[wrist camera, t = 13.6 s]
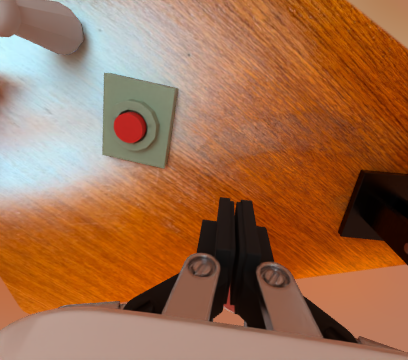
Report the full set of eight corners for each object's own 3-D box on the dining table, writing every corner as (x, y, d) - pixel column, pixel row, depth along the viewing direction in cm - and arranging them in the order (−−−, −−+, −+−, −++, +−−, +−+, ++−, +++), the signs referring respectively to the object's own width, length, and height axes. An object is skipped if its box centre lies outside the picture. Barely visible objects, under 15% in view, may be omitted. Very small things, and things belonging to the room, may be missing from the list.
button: (119, 108, 32) (114, 110, 30) (147, 115, 32) (143, 117, 30) (118, 136, 34) (112, 139, 32) (145, 142, 34) (141, 145, 32)
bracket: (360, 169, 36) (425, 213, 25) (427, 175, 36) (525, 223, 24) (337, 232, 41) (382, 293, 29) (396, 238, 41) (464, 303, 29)
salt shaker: (88, 61, 33) (13, 52, 21) (49, 49, 33) (-49, 34, 21) (91, 13, 31) (7, -26, 19) (49, 0, 31) (-63, -48, 19)
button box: (111, 73, 34) (97, 72, 30) (178, 88, 34) (172, 89, 30) (108, 150, 39) (96, 158, 35) (167, 163, 39) (161, 172, 35)
